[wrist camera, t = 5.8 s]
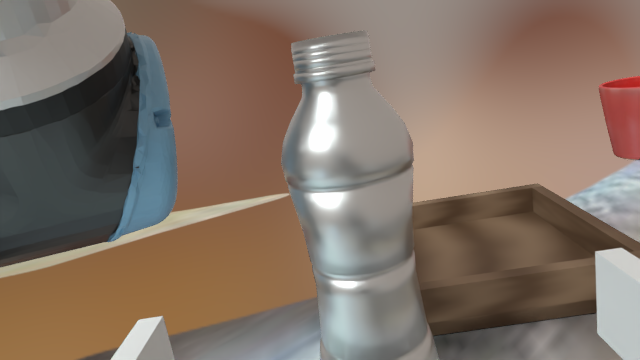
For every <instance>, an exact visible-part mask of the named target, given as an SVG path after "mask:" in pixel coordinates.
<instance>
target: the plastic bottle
mask: <svg viewBox="0 0 640 360" xmlns="http://www.w3.org/2000/svg"><path fill="white" fill-rule="evenodd" d="M291 45H292V48H291V51H292V56H293V62H294V68H295V74H294V81H295V84H301V85H302V99H301V101H300V104H299V105H298V107H297V110H296V112H295V114H294V116H293V118H292V120H291V122H290V125H289V128H288V130H287V133H286V136H285V139H284V141H283V149H282V161H281V164H282V168H283V172H284V175H285V180H286V182H287V183H288V188H289V191H290V194H291V197H292V200H293V203H294V206H295V209H296V212H297V215H298V217H299V220H300V224H301V227H302V230H303V232H304V236H305V240H306V244H307V249H308V253H309V257H310V261H311V262H312V264H313V265H312V268H313V273H314V278H315V282H316V286H317V297H318V307H319V318H320V328H321V341H320V360H439V357H438V353H437V349H436V345H435V342H434V338H433V335H432V332H431V330H430V327H429V325H428V323H427V320H426V315H425V311H424V306H423V301H422V297H421V292H420V287H419V283H418V278H417V273H416V263H415V253H414V250H413V248H414V235H413V222H412V206H413V165H412V163H413V161H414V158H413V142H412V140H411V137H410V135H409V132H408V130H407V128H406V125H405V123H404V122H403V120H402V119H401V118H400V116H399V115H398V114H397V112H396V111H395V110H394V109H393V107H392V106H391V105H390V104H389V103H388V102H387V101H386V100H385V98H383V96H381V94H380V93H379V92H378V91H377V90H376V89H375V88H374V87H373V86H372V83H371V79H370V74H369V73H370V72H372V71H375V62H374V61H372V57H371V49H370V41H369V36H368V31H357V32H350V33H343V34H337V35H331V36H326V37H319V38H314V39H309V40H304V41H299V42H295V43H292V44H291Z"/></svg>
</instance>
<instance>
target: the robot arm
mask: <svg viewBox="0 0 640 360" xmlns="http://www.w3.org/2000/svg"><path fill="white" fill-rule="evenodd" d="M169 102H170V101H169V93H168V88H167V82H166V77H165V73H164V69H163V65H162V61H161V58H160V55H159V52H158V50H157V47H156V45H155V43H154V42H153V41H152V39H151V38H149V37H147V36H144V35H137V34H135V33H134V34H131V32H130V33H126V29H125V24H124V21H123V18H122V15H121V13H120V11H119V10H118V8H117V7H116V6H115V5H114V4H113V3H112V2H111V1H110V0H0V267H4V266H8V265H12V264H16V263H21V262H25V261H29V260H33V259H37V258H41V257H45V256H49V255H53V254H58V253H62V252H66V251H70V250H74V249H78V248H82V247H86V246H90V245H95V244H99V243H103V242H111V241H115V240H116V239H118V238H119V237H121V236H122V235H125V234H128V233H131V232H135V231H138V230H141V229H144V228H147V227H150V226H153V225H156V224H158V223H160V222H161V221H163V220H164V219H165V218H166V217H167V216H168V215H169V214H170V212H171V211H172V208H173V207H174V204H175V201H176V195H177V156H176V144H175V136H174V128H173V125H172V122H171V120H170V117H171V112H170V103H169ZM595 265H596V301H597V334H598V335H599V336H600V337H601V338H602V339H603V340H604V341H605V342H606V343H607V344H608V345H609V346H610V347H611V348H612V349H613V350H614V351H615V352H616V353H617V354H618V355H619V356H620V357H621V358H622V359H623V360H640V259H639V258H637V257H636V256H634V255H632V254H631V253H629V252H628V251H626V250H624V249H623V248H615V249H609V250H602V251H595ZM111 360H175V358H174V355H173V351H172V347H171V344H170V340H169V336H168V333H167V329H166V326H165V322H164V318H163V316H160V317H153V318H146V319H139V320H138V321H137V323H136V324H135V326H134V327H133V329H132V330H131V331H130V333H129V334H128V336H127V337H126V338H125V340H124V341H123V343H122V344H121V345H120V347H119V348H118V350H117V351H116V353H115V354H114V355H113V357H112V358H111Z"/></svg>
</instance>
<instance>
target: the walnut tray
mask: <svg viewBox="0 0 640 360" xmlns="http://www.w3.org/2000/svg"><path fill="white" fill-rule="evenodd" d="M412 222H413V235H414V248H413V250H414V253H415V263H416V273H417V278H418V283H419V287H420V292H421V297H422V301H423V306H424V311H425V315H426V320H427V323H428V325H429V327H430V330H431V332H432V335H433V336H435V335H442V334H449V333H456V332H464V331H471V330H478V329H485V328H492V327H499V326H506V325H513V324H520V323H527V322H534V321H541V320H548V319H555V318H562V317H569V316H576V315H583V314H590V313H597V301H596V265H595V251H602V250H609V249H615V248H623V249H624V250H626V251H628V252H629V253H631V254H632V255H634V256H636V257H637V258H639V259H640V243H639V242H637V241H635V240H633V239H632V238H630V237H628V236H627V235H625V234H623V233H621V232H620V231H618V230H616V229H615V228H613V227H611V226H610V225H608V224H606V223H604V222H603V221H601V220H599V219H598V218H596V217H594V216H592V215H591V214H589V213H587V212H586V211H584V210H582V209H580V208H579V207H577V206H575V205H574V204H572V203H570V202H568V201H567V200H565V199H563V198H561V197H560V196H558V195H557V194H555V193H553V192H551V191H550V190H548V189H546V188H544V187H543V186H541V185H539V184H532V185H525V186H519V187H512V188H507V189H499V190H493V191H486V192H480V193H473V194H467V195H461V196H454V197H448V198H441V199H435V200H428V201H422V202H416V203H413V206H412Z"/></svg>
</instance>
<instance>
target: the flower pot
mask: <svg viewBox="0 0 640 360" xmlns="http://www.w3.org/2000/svg"><path fill="white" fill-rule="evenodd" d="M599 93H600V98H601V102H602V106H603V111H604V116H605V120H606V124H607V129H608V133H609V136H610V141H611V144H612V148H613V152H614V154H615V155H616V156H617V157H620V158H624V159H631V160H639V159H640V76H637V77H629V78H623V79H618V80H613V81H609V82H605V83H603V84H601V85H599Z"/></svg>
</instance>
